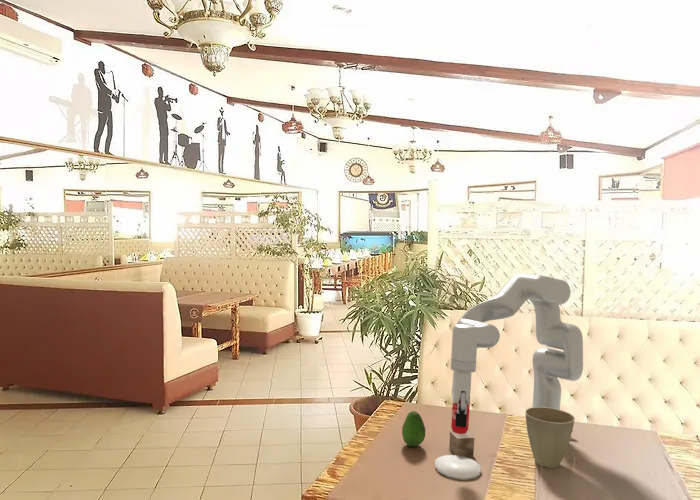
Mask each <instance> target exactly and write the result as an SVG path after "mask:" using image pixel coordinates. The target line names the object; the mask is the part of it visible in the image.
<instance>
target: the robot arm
mask: <svg viewBox="0 0 700 500" xmlns="http://www.w3.org/2000/svg"><path fill="white" fill-rule="evenodd" d="M570 298H571V287H570V284H569V283H568V282H567V281H566V280H563V279H560V278H559V279H558V278H556V277H555V278H554V277H550V276H546V275H542V274H541V275H540V274H532V273H516V274H514V275H513V276H511V277H510V279H509V280H508V281H507V282H506V283H505V284H504V285H503V286H502V288H501V289H500V290H499V291H498V293H496V295H495V296H494V297H492V298H489V299H486V300H484V301H481V302H480V303H477V304H476V305H474V306H472V307H470V308H468V310H466V311H465V313H463V315H462V316H461V317H460V319H458V321H457V323H456V324H455V325H454V326H453V328H452V335H451V336H452V337H451V353H450V354H451V356H450V369H451V370H452V372H453V373H452V387H451V399H452V404H453V403H454V404H455V403H457V413H456V422H455V425H456V426H457V427H466V421H467V414H466V410H467V405H468V404H469V401H470V402H471V389H472V388H471V387H472V374H473V373H475V372H476V370H477V351H478V348H479V349H480V348H482V349H489V348H490V349H491V348H494V347H495V346H496V345H498V343H499V340H500V338H501V337H500V336H501V334H500V331H499V329H498V328H497V327H496V326H495V325H493V324H490V323H487V322H490V321H495V320H497V321H498V320H503V319H507V318H511V317H513V316H515V315H516V314H517V312H518V311H519V309H521V307H523V305H524V304H525V303H526V302H527V301H530V302H531V303H532V305H533V308H534V314H535V315H534V316H535V336H536V340H537V343H539V344H540V345H542V346H546V347H539V348H538V349H536V350H534V353H532V362H531V363H532V367H533V368H532V369H533V392H532V393H533V394H532V407H531V408H533V407H547V408H554V409H558V410H561V400H562V399H561V398H562V386H561V382H560V380H559V379H562V380H566V381H571V382H574V381H578V380H580V378H581V377H582V375H583V371H584V339H583V334H582V331H581V329H580V328H579V327H578V325H576V324H572V323H567V322H566V323H565V322H563V321H562V319H561V309H560V308H561V307H560V306H562V305H564V304H565V303H567V302H568V301H569V299H570ZM561 350H562V351H561ZM459 401H461V403H459ZM459 405H461V407H459ZM573 431H574V430H572V432H573ZM526 432H527V433H528V431H527V430H526Z"/></svg>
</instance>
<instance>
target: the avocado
mask: <svg viewBox="0 0 700 500" xmlns="http://www.w3.org/2000/svg"><path fill="white" fill-rule="evenodd" d="M401 430H402V431H401V435H402V439H403V441H404V443H405V444H406V445H407V446H409V447H417V446H419V445H421V444H422V443H423V442H424V439H425V437H426V426H425V423H424V420H423V418H422V416H421V415H420V413H419V412H418V411H415V410H411V411H409V412H408V413H407V415H406V417H405V419H404V422H403V424H402V427H401Z"/></svg>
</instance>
